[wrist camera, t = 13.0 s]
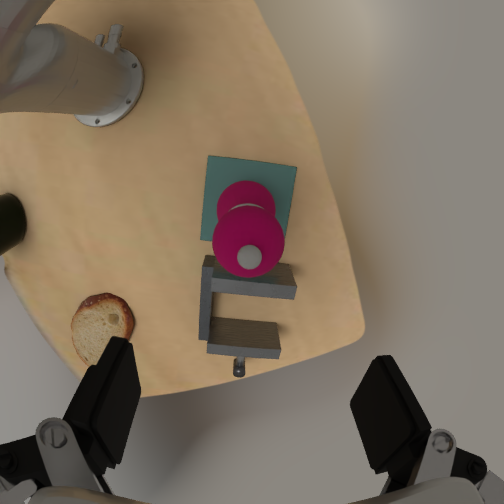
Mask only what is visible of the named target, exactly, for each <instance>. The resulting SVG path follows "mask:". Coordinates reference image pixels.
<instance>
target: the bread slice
mask: <svg viewBox="0 0 504 504" xmlns="http://www.w3.org/2000/svg"><path fill="white" fill-rule="evenodd" d="M133 326H134V322H133V317H132V314H131V311H130V309H129V308H128V306H127V303H126V301H125V300H123V299H122V298H120V297H118V296H116V295H113V294H111V293H104V294H100V295H97V296H90V297H88V298H87V299H86V300H85V301H83V302H82V303H81V305H80V306H79V308H78V310H77V311H76V313H75V315H74V316H73V319H72V323H71V329H72V332H73V336H72V341H73V345H74V347H75V349H76V352H77V354H78V355H79V357H80V358H81V359H82V361H83V362H84V363H85V364H86V365H88V366H89V367H90V366H91V365H96V364H97V362H98V360H99V359H100V357H101V355H102V353H103V351H104V349H105V347H106V346H107V344H108V342H109V340H110V338H111V337H112V336H117V337H122V338H127V339H128V341H129V337H130V335H131V333H132V330H133Z"/></svg>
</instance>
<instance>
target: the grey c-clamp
mask: <svg viewBox="0 0 504 504" xmlns="http://www.w3.org/2000/svg"><path fill="white" fill-rule="evenodd" d="M296 289H297V285H296V282H295V280H294V277H293V274H292V271H291V269H290V266H289V264H282V263H277V264H276V265H275V266H274V268H273V269H271V270H270V271H269V272H267V273H265V274H263V275H260V276H257V277H250V278H246V277H240V276H236V275H234V274H232V273H230V272H228V271H227V270H226V269H225V268H223V267H222V266H221V265H220V263H219V262H218V260H217V258H216V256H210V255H206V256H205V259H204V262H203V265H202V278H201V295H200V316H199V340H206V341H208V342H207V353H209V354H218V355H228V356H237V358H236V359H234V364H233V375H234V376H235V377H243V376H244V375H245V357H252V358H267V359H279V356H280V352H281V346H280V340H279V334H278V329H277V323H274V322H261V321H249V320H239V319H229V318H219V317H211V315H212V302H213V292H220V293H230V294H239V295H249V296H259V297H270V298H281V299H293V300H294V297H295V293H296Z"/></svg>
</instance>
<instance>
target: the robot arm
mask: <svg viewBox="0 0 504 504" xmlns="http://www.w3.org/2000/svg"><path fill="white" fill-rule="evenodd" d="M54 1H55V0H0V113H7V112H44V113H62V114H74V116H75V117H76V118H77V120H78V121H80V122H81V123H83V124H85V125H87V126H92V127H103V126H108V125H110V124H113V123H115V122H117V121H118V120H120V119H122V118H123V117H124V116H125V115H126V114H127V113H128V112H129V111H130V110H131V109H132V108H133V107H134V105H135V103H136V102H137V100H138V98H139V96H140V94H141V91H142V87H143V81H144V74H143V68H142V65H141V63H140V61H139V60H138V58H137V57H136V56H135V55H134V54H133V53H131V52H130V51H128V50H126V49H123V48H120V46H121V45H120V44H119V40H120V37H121V34H122V30H123V25H120V24H115V25H112V26H111V28H110V31H109V35H108V41H107V43H105V44H104V48H102V44H103V42H104V38H105V35H103V34H99V35H97V36H96V39H95V43H93V42H92V41H90V40H88V39H86V38H84V37H83V36H81V35H79V34H77V33H75V32H73V31H71V30H70V29H68V28H66V27H64V26H61V25H58V24H52V23H46V24H37V25H36V23H37V22H38V21H39V19H40V18H41V17H42V15H43V14H44V13H45V12H46V10H47V9H48V8H49V7H50V5H51V4H52V3H53V2H54ZM136 66H137V67H136ZM135 67H136V68H135ZM130 101H131V103H130V104H129V102H130ZM99 121H100V123H99ZM140 395H141V386H140V382H139V377H138V372H137V367H136V362H135V356H134V350H133V345H132V343H129V342H128V339H127V338H122V337H117V336H112V337H111V338H110V340H109V342H108V344H107V346H106V347H105V349H104V351H103V353H102V355H101V357H100V359H99V360H98V362H97V364H96V365H91V366H90V367H89V368H88V369H87V371H86V373H85V375H84V377H83V379H82V381H81V383H80V385H79V387H78V389H77V390H76V393H75V394H74V396H73V398H72V400H71V402H70V404H69V407H68V409H67V411H66V413H65V415H64V417H63V419H60V418H47V419H45V420H43V421H42V422H41V423H40V424H39V425H38V427H37V429H36V435H33V436H30V437H27V438H23V439H20V440H16V441H13V442H10V443H5V444H2V445H0V504H25V503H24V501H25V500H26V499H27V498H28V497H31V499H30V501H29V502H28V504H150V503H145V502H140V501H136V500H132V499H128V498H124V497H119V496H116V495H115V494H114V492H113V491H112V489H111V488H110V486H109V484H108V482H107V480H106V479H105V477H104V475H103V474H105V471H106V468H107V467H109V468H113V469H115V466H116V464H120V463H121V460H122V457H123V453H124V449H125V446H126V442H127V439H128V435H129V431H130V428H131V425H132V421H133V418H134V415H135V411H136V408H137V405H138V402H139V399H140ZM350 407H351V410H352V413H353V416H354V419H355V422H356V425H357V428H358V431H359V434H360V437H361V440H362V442H363V446H364V449H365V451H366V455H367V458H368V461H369V464H370V467H371V468H372V469H374V470H375V474H380V473H384V472H387V471H388V474H389V476H388V479H387V481H386V483H385V485H384V487H383V489H382V491H381V493H380V495H379V496H377V497H373V498H369V499H365V500H361V501H357V502H353V503H348V504H504V481H503V480H501V479H500V478H499V477H498V476H496V475H495V474H494V473H493V472H491V471H490V470H489V471H488V472H487V465H486V463H485V461H484V460H483V459H482V458H481V457H479V456H477V455H474V454H472V453H469V452H467V451H464V450H462V449H459V448H457V447H456V440H455V438H454V436H453V435H452V434H451V433H450V432H449V431H447V430H445V429H436V430H434V431H433V432H431V430H430V429H431V428H432V427H431V425H430V423H429V421H428V419H427V417H426V415H425V414H424V412H423V410H422V408H421V406H420V404H419V403H418V401H417V399H416V397H415V395H414V393H413V392H412V390H411V388H410V386H409V384H408V383H407V381H406V379H405V377H404V376H403V374H402V372H401V371H400V369H399V367H398V365H397V364H396V362H395V360H394V359H393V357H392V356H391V355H383V356H377V357H376V358H375V359H374V360H372V362H371V364H370V366H369V368H368V370H367V372H366V374H365V375H364V377H363V379H362V381H361V383H360V385H359V387H358V388H357V390H356V392H355V394H354V395H353V397H352V399H351V401H350Z"/></svg>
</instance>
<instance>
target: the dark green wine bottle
mask: <svg viewBox="0 0 504 504" xmlns="http://www.w3.org/2000/svg"><path fill="white" fill-rule="evenodd" d="M24 233H25V217H24V213H23V210H22V207H21V205H20V203H19V202H18V200H17V199H16V198H15V197H14V196H12V195H10V194H7V193H6V194H2V195H0V256H1V255H2V254H4V253H6V252H7V251H9V250H10V249H12V248H14V247H15V246H16V245H18V244H19V243H20V242H21V241H22V239H23V236H24Z"/></svg>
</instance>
